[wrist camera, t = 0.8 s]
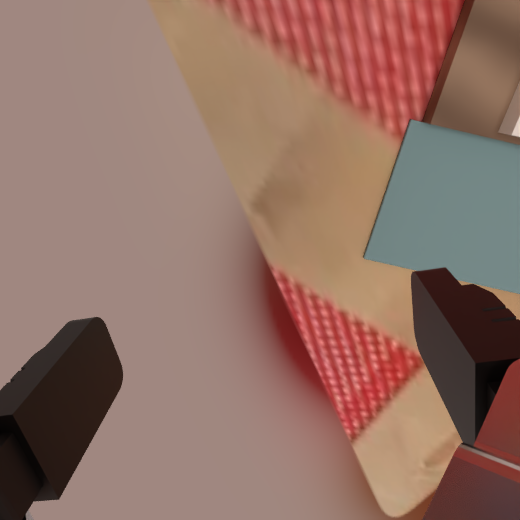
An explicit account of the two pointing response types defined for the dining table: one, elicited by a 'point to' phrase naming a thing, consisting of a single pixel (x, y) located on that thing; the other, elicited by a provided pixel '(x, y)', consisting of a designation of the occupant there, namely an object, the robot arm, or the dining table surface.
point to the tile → (512, 116)
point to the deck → (479, 70)
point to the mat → (452, 207)
